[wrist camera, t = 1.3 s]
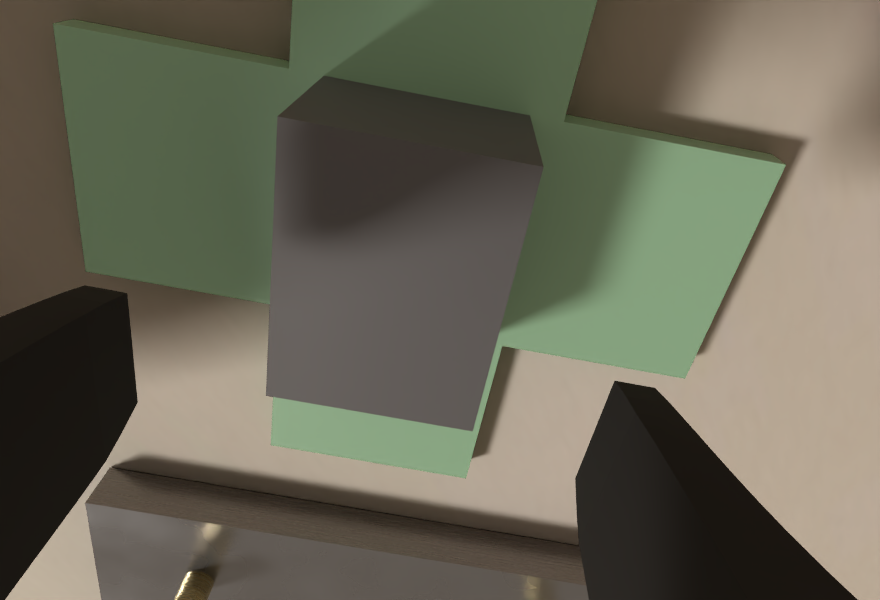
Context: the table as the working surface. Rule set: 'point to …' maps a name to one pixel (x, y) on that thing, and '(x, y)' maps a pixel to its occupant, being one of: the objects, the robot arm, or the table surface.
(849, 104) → the table surface
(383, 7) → the board
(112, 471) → the chassis
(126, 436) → the table surface
